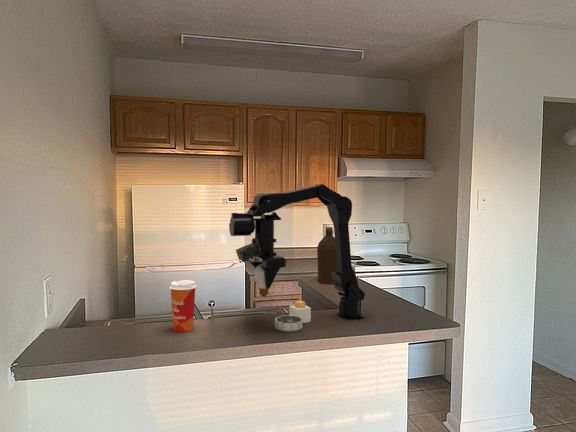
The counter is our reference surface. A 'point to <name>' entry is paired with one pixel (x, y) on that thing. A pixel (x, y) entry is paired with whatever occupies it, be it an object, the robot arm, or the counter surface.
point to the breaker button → (299, 304)
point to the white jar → (301, 313)
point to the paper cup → (183, 305)
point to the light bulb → (261, 280)
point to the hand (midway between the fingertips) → (264, 286)
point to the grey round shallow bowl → (288, 323)
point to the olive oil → (326, 257)
